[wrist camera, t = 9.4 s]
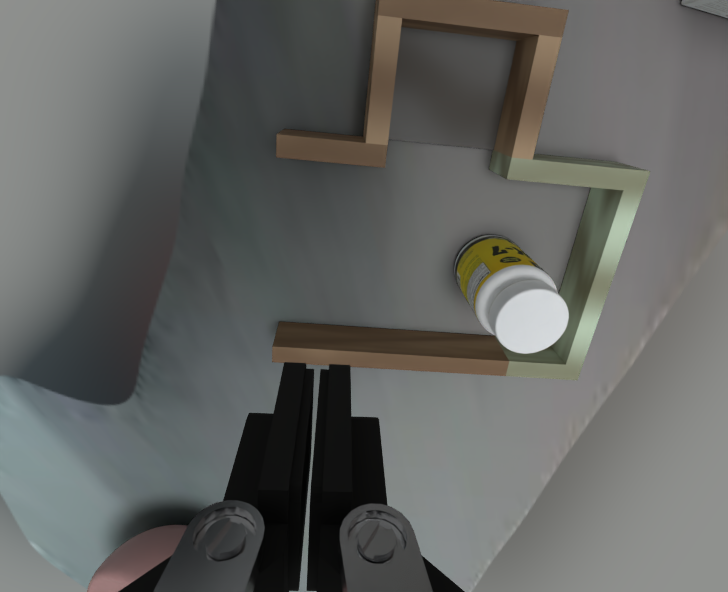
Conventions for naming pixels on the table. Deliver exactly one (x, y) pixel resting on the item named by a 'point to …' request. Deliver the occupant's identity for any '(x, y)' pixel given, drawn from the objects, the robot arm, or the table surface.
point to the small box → (709, 6)
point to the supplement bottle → (510, 294)
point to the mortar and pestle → (136, 558)
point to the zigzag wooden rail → (509, 159)
